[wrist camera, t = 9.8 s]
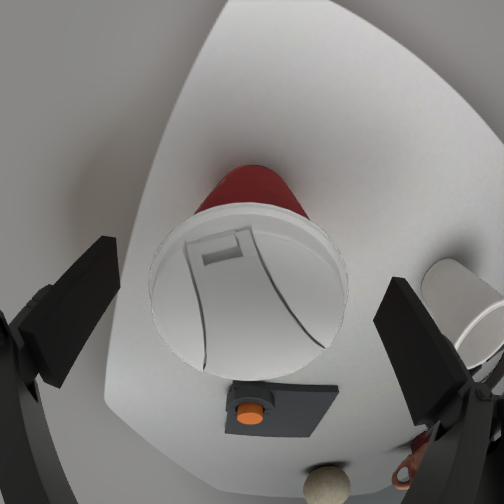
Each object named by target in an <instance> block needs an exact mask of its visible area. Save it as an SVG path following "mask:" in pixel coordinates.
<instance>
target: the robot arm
mask: <svg viewBox="0 0 504 504" xmlns="http://www.w3.org/2000/svg"><path fill="white" fill-rule="evenodd" d="M119 289H120V278H119V268H118V259H117V245H116V238H114V237H108V236H101V237H100V238H99V239H98V240H97V241H96V242H95V243H94V244H93V245H92V246H91V247H90V248H89V249H88V250H87V251H86V252H85V253H84V254H83V255H82V256H81V257H80V258H79V259H78V260H77V261H76V262H75V263H74V264H73V265H72V266H71V267H70V268H69V269H68V270H67V271H66V272H65V273H64V274H63V275H62V276H61V278H60V279H59V280H58V281H57V282H56V283H55V284H54V285H50V284H48V285H47V286H45V287H43V288H42V289H40V290H39V291H38V292H37V293H36V294H35V295H34V296H33V297H32V300H30V301H29V302H28V303H27V304H26V306H25V307H24V308H23V309H22V310H21V311H20V312H19V313H18V315H17V316H16V317H15V318H14V319H13V321H12V322H11V323H10V324H9V325H8V324H7V321H6V319H5V317H4V314H3V312H1V310H0V489H1V493H2V496H3V499H4V502H5V504H78V502H77V500H76V498H75V496H74V494H73V492H72V490H71V487H70V485H69V483H68V481H67V478H66V476H65V473H64V471H63V469H62V466H61V463H60V461H59V458H58V455H57V452H56V450H55V447H54V444H53V441H52V438H51V435H50V432H49V428H48V425H47V421H46V418H45V414H44V410H43V407H42V402H41V398H40V394H39V389H38V384H37V382H36V380H35V378H36V376H37V374H38V373H39V374H40V376H41V377H42V379H43V381H44V382H45V383H47V384H50V385H52V386H54V387H57V388H59V389H60V388H61V386H62V384H63V382H64V380H65V378H66V376H67V375H68V373H69V371H70V369H71V367H72V366H73V364H74V362H75V360H76V358H77V357H78V355H79V353H80V351H81V350H82V348H83V346H84V345H85V343H86V341H87V340H88V338H89V336H90V335H91V333H92V331H93V330H94V328H95V326H96V324H97V323H98V321H99V320H100V318H101V316H102V315H103V313H104V312H105V310H106V309H107V307H108V305H109V304H110V302H111V301H112V299H113V298H114V296H115V295H116V293H117V292H118V290H119ZM373 322H374V324H375V326H376V328H377V331H378V333H379V335H380V338H381V340H382V342H383V345H384V347H385V349H386V352H387V354H388V357H389V359H390V361H391V364H392V366H393V369H394V371H395V374H396V377H397V379H398V382H399V384H400V387H401V390H402V392H403V395H404V398H405V400H406V403H407V406H408V409H409V411H410V414H411V417H412V420H413V423H414V426H417V425H422V424H427V423H429V422H430V421H431V420H432V419H433V418H434V417H435V416H436V415H438V418H439V421H438V422H437V423H436V424H435V425H434V426H433V427H432V428H431V429H430V430H429V431H428V432H427V433H426V434H425V436H426V437H427V436H428V435H429V434H430V433H431V432H432V435H431V437H430V438H429V439H430V441H429V443H428V446H427V448H426V451H425V453H424V456H423V458H422V461H421V463H420V465H419V467H418V470H417V472H416V474H415V476H414V478H413V481H412V483H411V485H410V487H409V489H408V491H407V493H406V495H405V497H404V498H403V500H402V502H401V504H504V393H503V394H502V395H501V396H499V395H493V394H492V391H491V390H490V389H489V387H488V386H486V385H485V384H484V383H481V382H474V380H473V378H472V376H471V375H470V373H469V371H468V369H467V367H466V366H465V364H464V362H463V360H462V359H460V355H459V354H458V352H456V351H457V350H456V349H455V347H454V345H453V344H452V342H451V341H450V340H449V339H448V338H447V337H446V336H445V335H444V334H442V333H441V331H440V330H439V328H438V327H437V325H436V324H435V322H434V320H433V319H432V317H431V316H430V314H429V313H428V311H427V310H426V308H425V307H424V305H423V304H422V302H421V301H420V299H419V298H418V296H417V295H416V293H415V292H414V291H413V289H412V288H411V286H410V285H409V283H408V282H407V281H406V279H405V278H399V277H392V279H391V281H390V284H389V286H388V288H387V291H386V293H385V295H384V298H383V300H382V302H381V304H380V306H379V309H378V311H377V313H376V315H375V317H374V319H373ZM500 430H501V437H500V438H498V439H497V440H496V441H494V436H495V435H496V434H497V433H498V432H499V431H500Z"/></svg>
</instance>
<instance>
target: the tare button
mask: <svg viewBox="0 0 504 504" xmlns="http://www.w3.org/2000/svg"><path fill="white" fill-rule="evenodd" d="M237 420H238V421H239V422H241V423H243V424H257V423H260V422H261V421H262V420H263V407H262V405H260V404H257V403H249V402H248V403H242V404H240V405H239V406H238V409H237Z"/></svg>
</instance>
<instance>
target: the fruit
mask: <svg viewBox="0 0 504 504" xmlns="http://www.w3.org/2000/svg"><path fill="white" fill-rule="evenodd" d="M303 492H304V497H305V499H306V501H307V502H308V504H342V503H343V502H344V501H345V500H346V499H347V498H348V496H349V493H350V481H349V478H348V476H347V475H346V473H345V472H344V471H343V470H341V469H340V468H338V467H334V466H324V467H320V468H318V469H316V470H314V471H313V472H312V473H310V474H309V476H308V477H307V479H306V481H305V483H304V489H303Z"/></svg>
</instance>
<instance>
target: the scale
mask: <svg viewBox="0 0 504 504" xmlns="http://www.w3.org/2000/svg"><path fill="white" fill-rule="evenodd" d="M338 393H339V390H338V386H315V385H290V384H274V383H261V382H250V381H240V380H234V381H233V387H232V391H231V392H229V393H228V394H227V401H226V412H227V413H228V415H227V420H226V426H225V433H227V434H237V435H249V436H264V437H310V435H311V434H312V432H313V431H314V430H315V428H316V427H317V425H318V424H319V422H320V421H321V419H322V418H323V416H324V415H325V413H326V412H327V410H328V409H329V407H330V406H331V404H332V403H333V401H334V400H335V398H336V396H337V395H338ZM248 402H249V403H257V404H260V405H262V407H263V420H262V421H261V422H260V423H257V424H243V423H241V422H239V421H238V420H237V409H238V406H239V405H240V404H242V403H248Z"/></svg>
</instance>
